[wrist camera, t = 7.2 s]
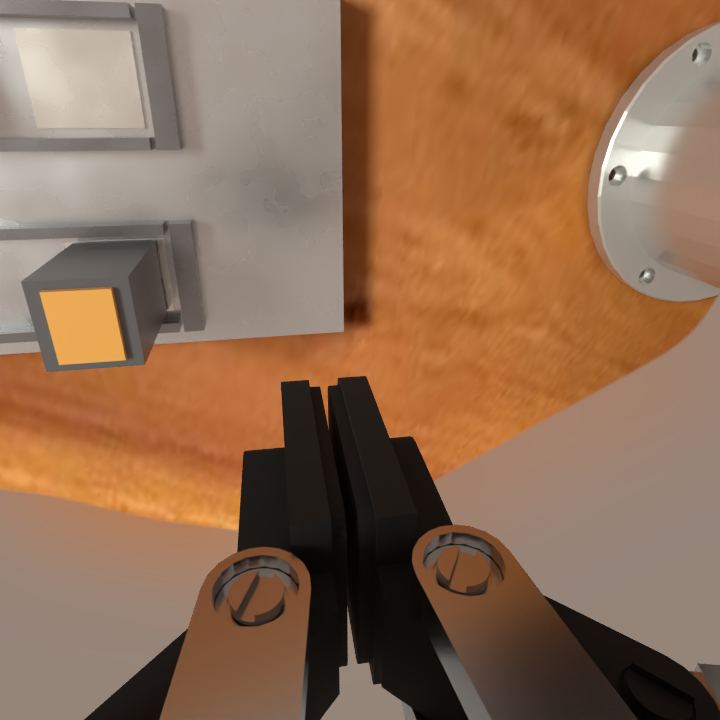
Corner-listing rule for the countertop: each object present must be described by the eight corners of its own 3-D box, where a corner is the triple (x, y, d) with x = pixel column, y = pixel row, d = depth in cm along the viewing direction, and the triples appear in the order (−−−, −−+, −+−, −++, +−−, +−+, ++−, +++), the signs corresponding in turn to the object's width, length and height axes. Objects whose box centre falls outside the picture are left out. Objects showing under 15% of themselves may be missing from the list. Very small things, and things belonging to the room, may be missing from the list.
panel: (334, -5, 20) (343, -19, 18) (339, 319, 25) (346, 338, 23) (-381, -34, 16) (-474, -55, 14) (-190, 353, 22) (-236, 378, 20)
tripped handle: (155, 240, 20) (126, 278, 16) (167, 312, 22) (143, 367, 17) (72, 243, 20) (18, 283, 15) (89, 317, 21) (44, 374, 17)
